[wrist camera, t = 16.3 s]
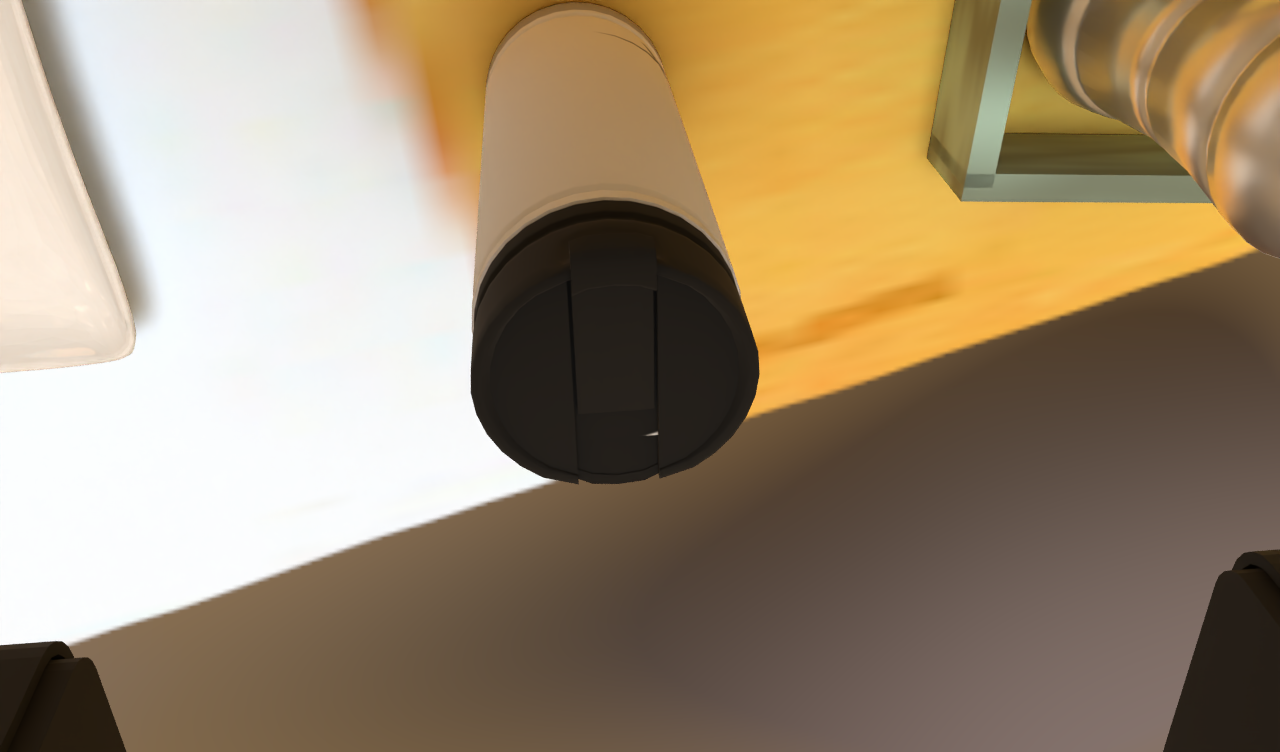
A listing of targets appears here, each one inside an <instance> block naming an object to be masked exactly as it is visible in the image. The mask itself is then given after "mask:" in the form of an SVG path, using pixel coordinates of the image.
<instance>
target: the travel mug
mask: <svg viewBox="0 0 1280 752" xmlns="http://www.w3.org/2000/svg"><path fill="white" fill-rule="evenodd" d="M472 333H473V343H472V359H471V395H472V399H473V403H474V407H475V411H476V414H477V416H478V418H479V420H480V422H481V424H482V426H483V428H484V429H485V431H486V433H487V435H488V436H489V437H490V438H491V439H492V441H493V442H494V443H495V444H496V445H497V446H498V447H499V449H500V450H501V451H502V452H503V453H505V454H506V455H507V456H508V457H510V458H511V459H512V460H514V461H515V462H516V463H518V464H519V465H520V466H522V467H524V468H526V469H528V470H529V471H531V472H533V473H535V474H537V475H539V476H541V477H543V478H549V479H554V480H559V481H564V482H569V483H575V484H578V479H581V480H584V481H586V482H590V483H592V484H620V483H627V482H634V481H641V480H646V479H648V478H649V477H651V476H654V475H656V474H658V473H659V478H663V477H666V476H669V475H672V474H675V473H678V472H680V471H684V470H686V469H689V468H692V467H694V466H696V465H698V464H699V463H701V462H702V461H703V460H705V459H707V458H708V457H710V456H711V455H712V454H714V453H715V452H716V451H717V450H718V449H719V448H721V447H722V446H723V445H724V444H725V443H726V442H727V441H728V440H729V439H730V438H731V437H732V436H733V435H734V433H735V432H736V430H737V429H738V428H739V426H740V425H741V423H742V422H743V421H744V419H745V418H746V416H747V414H748V412H749V409H750V407H751V405H752V402H753V400H754V398H755V395H756V390H757V384H758V379H759V357H758V349H757V346H756V343H755V340H754V337H753V334H752V331H751V328H750V325H749V322H748V319H747V316H746V313H745V310H744V307H743V304H742V301H741V295H740V289H739V286H738V283H737V280H736V277H735V273H734V270H733V267H732V264H731V262H730V259H729V256H728V253H727V250H726V247H725V244H724V241H723V238H722V236H721V233H720V230H719V227H718V224H717V221H716V218H715V215H714V212H713V209H712V207H711V204H710V201H709V198H708V195H707V192H706V189H705V186H704V183H703V181H702V178H701V175H700V172H699V169H698V166H697V163H696V160H695V157H694V155H693V152H692V149H691V146H690V143H689V140H688V137H687V134H686V131H685V128H684V126H683V123H682V120H681V117H680V114H679V111H678V108H677V105H676V102H675V100H674V97H673V94H672V91H671V88H670V85H669V82H668V79H667V76H666V74H665V71H664V68H663V65H662V62H661V59H660V56H659V54H658V52H657V51H656V49H655V47H654V45H653V43H652V42H651V40H650V39H649V38H648V37H647V35H646V34H645V33H644V32H643V31H642V30H641V28H640V27H639V26H637V25H636V24H635V23H633V22H632V21H631V20H630V19H628V18H627V17H626V16H624V15H622V14H620V13H618V12H616V11H614V10H612V9H610V8H607V7H604V6H600V5H596V4H592V3H579V2H570V3H563V4H556V5H552V6H549V7H546V8H544V9H541V10H538V11H536V12H534V13H533V14H531V15H529V16H528V17H526V18H524V19H523V20H521V21H520V22H519V23H518V24H517V25H516V26H515V27H514V28H512V29H511V30H510V31H509V32H508V33H507V35H506V36H505V37H504V39H503V40H502V42H501V43H500V44H499V46H498V47H497V49H496V52H495V54H494V56H493V58H492V61H491V63H490V67H489V72H488V76H487V81H486V97H485V113H484V128H483V144H482V160H481V176H480V191H479V207H478V223H477V239H476V254H475V270H474V286H473V301H472Z"/></svg>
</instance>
